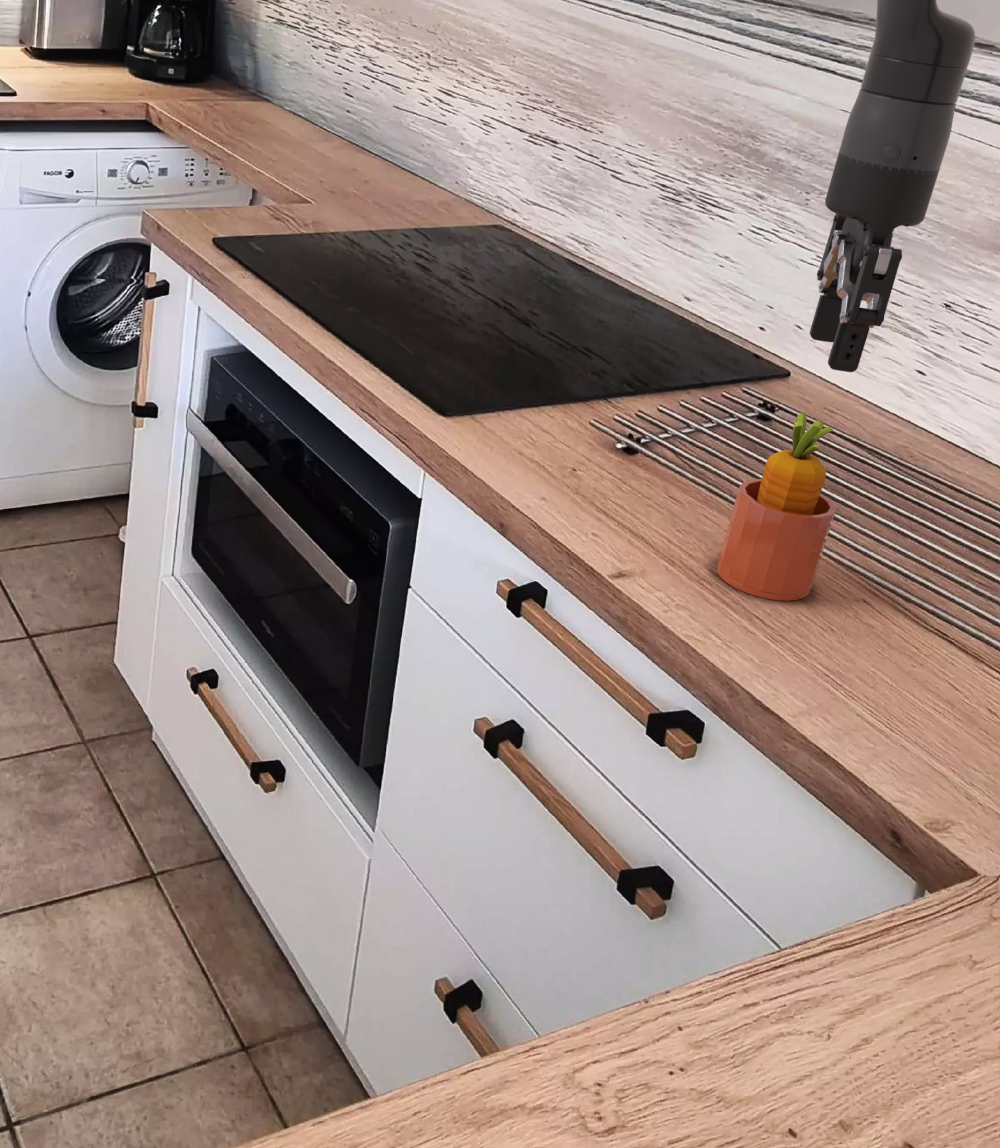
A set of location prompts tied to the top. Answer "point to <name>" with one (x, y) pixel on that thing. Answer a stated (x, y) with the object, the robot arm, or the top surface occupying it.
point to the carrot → (795, 472)
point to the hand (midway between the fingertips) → (831, 354)
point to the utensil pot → (773, 546)
